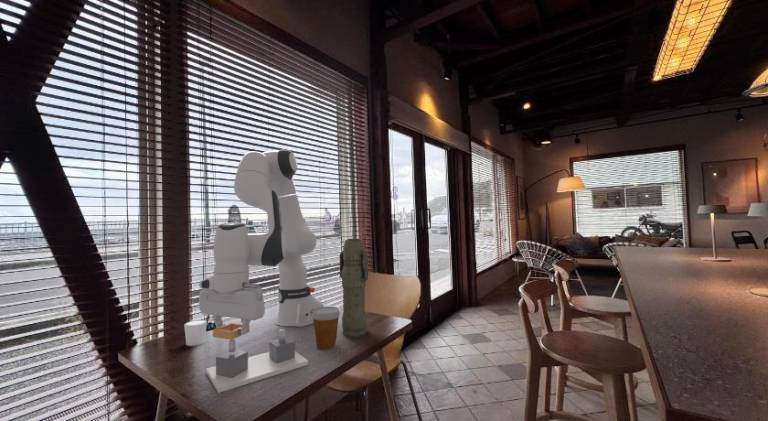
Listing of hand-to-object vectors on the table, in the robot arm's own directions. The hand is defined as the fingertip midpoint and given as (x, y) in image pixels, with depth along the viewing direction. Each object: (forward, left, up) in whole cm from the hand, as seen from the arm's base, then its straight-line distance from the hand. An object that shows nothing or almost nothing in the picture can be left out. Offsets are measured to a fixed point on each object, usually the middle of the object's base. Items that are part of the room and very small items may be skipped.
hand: (231, 332), depth 90 cm
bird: (-4, -49, -13) cm, 51 cm away
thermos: (-44, -6, -12) cm, 46 cm away
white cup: (+3, -35, -12) cm, 37 cm away
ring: (0, 0, -1) cm, 1 cm away
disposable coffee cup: (-30, -2, -12) cm, 32 cm away
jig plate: (-7, 0, -12) cm, 14 cm away
